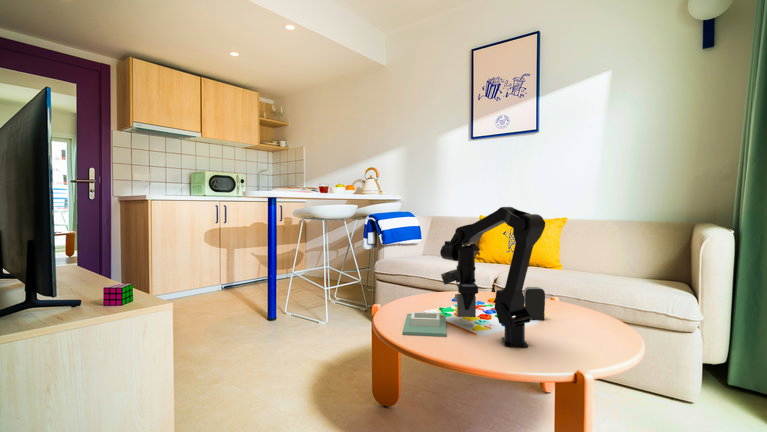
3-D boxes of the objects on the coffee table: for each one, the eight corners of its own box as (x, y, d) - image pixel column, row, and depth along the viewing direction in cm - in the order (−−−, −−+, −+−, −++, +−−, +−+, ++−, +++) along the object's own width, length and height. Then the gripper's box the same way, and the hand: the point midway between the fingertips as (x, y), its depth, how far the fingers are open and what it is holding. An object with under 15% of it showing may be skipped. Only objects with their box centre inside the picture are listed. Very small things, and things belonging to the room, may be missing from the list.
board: (446, 336, 117) (446, 325, 117) (402, 334, 119) (402, 324, 119) (445, 317, 137) (445, 308, 137) (407, 316, 139) (407, 306, 139)
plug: (475, 317, 125) (475, 296, 125) (455, 316, 126) (455, 296, 126) (474, 314, 129) (474, 294, 129) (454, 313, 130) (454, 293, 130)
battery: (542, 317, 136) (542, 286, 136) (545, 320, 133) (545, 288, 132) (522, 316, 138) (522, 285, 137) (524, 319, 134) (525, 288, 133)
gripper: (442, 258, 138) (442, 300, 138) (442, 267, 119) (443, 315, 120) (472, 259, 136) (472, 301, 136) (478, 267, 117) (478, 316, 118)
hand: (466, 308), depth 128 cm, fingers closed on plug, 4 cm apart
